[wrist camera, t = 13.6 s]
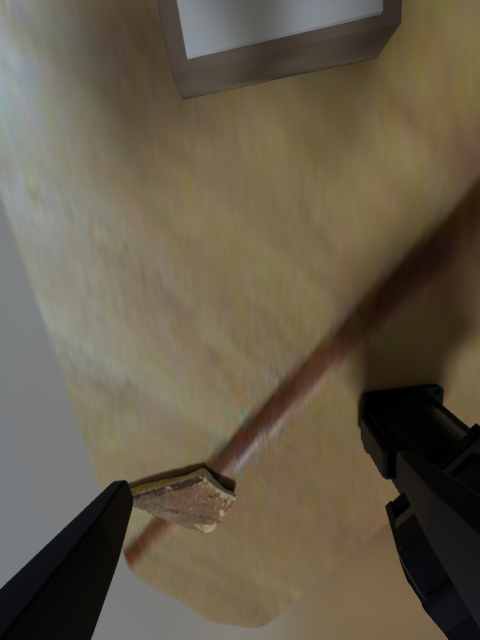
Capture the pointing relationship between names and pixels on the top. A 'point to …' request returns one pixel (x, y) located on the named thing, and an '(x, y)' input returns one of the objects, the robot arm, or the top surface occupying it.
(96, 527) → the robot arm
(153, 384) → the top surface
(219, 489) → the shard
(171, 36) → the plate
